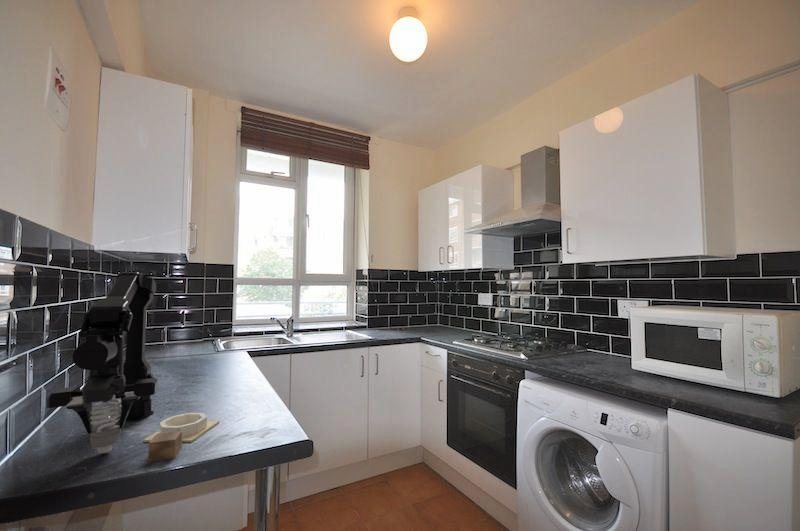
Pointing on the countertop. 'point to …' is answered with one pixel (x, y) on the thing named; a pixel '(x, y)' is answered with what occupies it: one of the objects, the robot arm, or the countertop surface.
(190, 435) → the socket
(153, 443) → the walnut block
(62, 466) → the countertop surface
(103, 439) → the light bulb
